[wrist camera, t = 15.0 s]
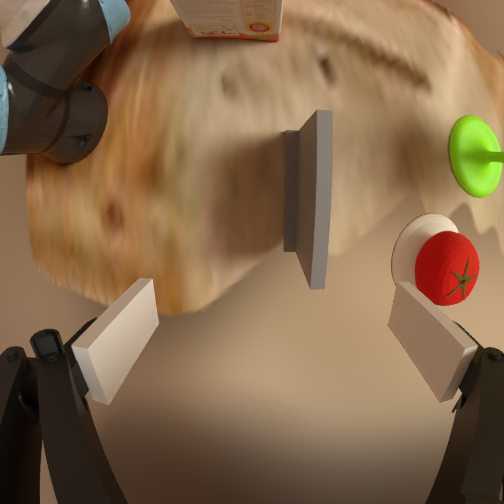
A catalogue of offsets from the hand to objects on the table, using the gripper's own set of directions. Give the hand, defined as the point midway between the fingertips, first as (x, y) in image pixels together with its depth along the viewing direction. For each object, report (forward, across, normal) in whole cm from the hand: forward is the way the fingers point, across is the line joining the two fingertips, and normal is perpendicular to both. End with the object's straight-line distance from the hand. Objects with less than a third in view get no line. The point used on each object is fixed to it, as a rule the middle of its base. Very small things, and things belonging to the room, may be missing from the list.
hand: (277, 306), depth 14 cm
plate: (+29, +29, -6) cm, 41 cm away
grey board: (+29, +5, +4) cm, 29 cm away
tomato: (+28, +29, -6) cm, 41 cm away
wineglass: (+29, +40, +14) cm, 51 cm away
